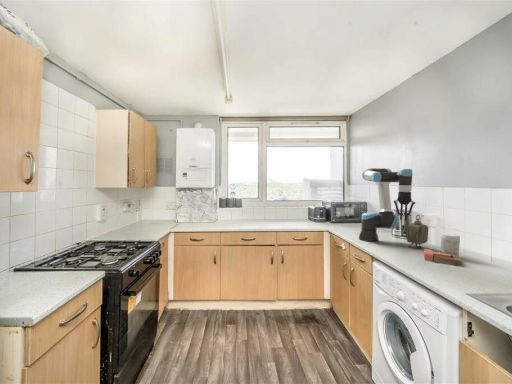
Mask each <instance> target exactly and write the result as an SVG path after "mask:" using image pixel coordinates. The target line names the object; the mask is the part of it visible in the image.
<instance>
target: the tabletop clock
mask: <svg viewBox="0 0 512 384" xmlns="http://www.w3.org/2000/svg"><path fill="white" fill-rule="evenodd" d="M418 216H419V218H418ZM420 219H421V215H420V214H417V215H416V216H415V220H414V221H413V222H411V223H409V224H408V225H407V226H406V227H407V229H406V242H408V243H411V244H410V245H408V248H412V245H415V246H417V245H418V248H419V249H422V246H421V245H422V244H426V243H427V242H428V239H429V226H428V225H426V224H423V223H422V221H421V220H420Z"/></svg>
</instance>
